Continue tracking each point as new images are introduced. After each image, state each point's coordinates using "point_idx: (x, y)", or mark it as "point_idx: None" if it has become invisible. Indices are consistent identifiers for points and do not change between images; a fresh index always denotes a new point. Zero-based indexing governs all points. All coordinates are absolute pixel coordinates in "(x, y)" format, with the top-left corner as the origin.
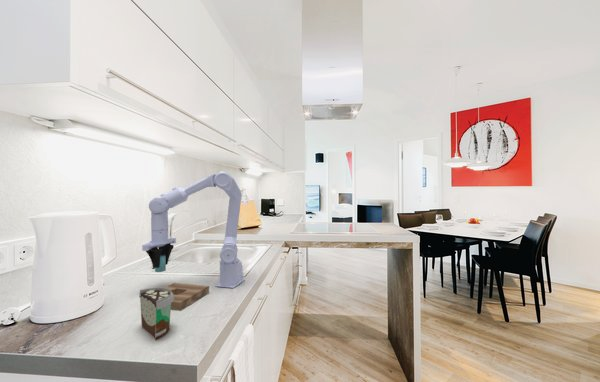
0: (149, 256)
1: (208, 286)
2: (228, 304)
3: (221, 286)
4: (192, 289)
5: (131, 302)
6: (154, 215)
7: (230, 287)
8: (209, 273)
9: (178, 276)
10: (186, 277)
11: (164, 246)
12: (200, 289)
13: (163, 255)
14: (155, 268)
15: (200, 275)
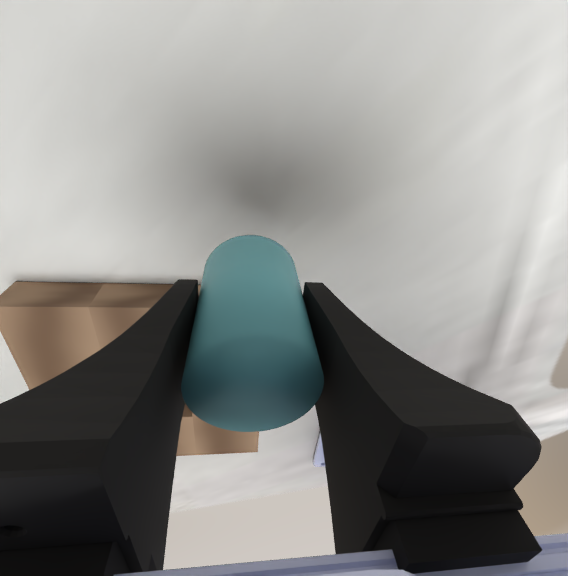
0: (88, 360)
1: (253, 451)
2: (184, 495)
3: (319, 435)
4: (201, 427)
5: (8, 191)
6: None
7: (314, 457)
8: (534, 306)
9: (519, 151)
10: (481, 223)
11: (363, 537)
12: (211, 447)
13: (296, 399)
14: (203, 278)
15: (506, 281)
